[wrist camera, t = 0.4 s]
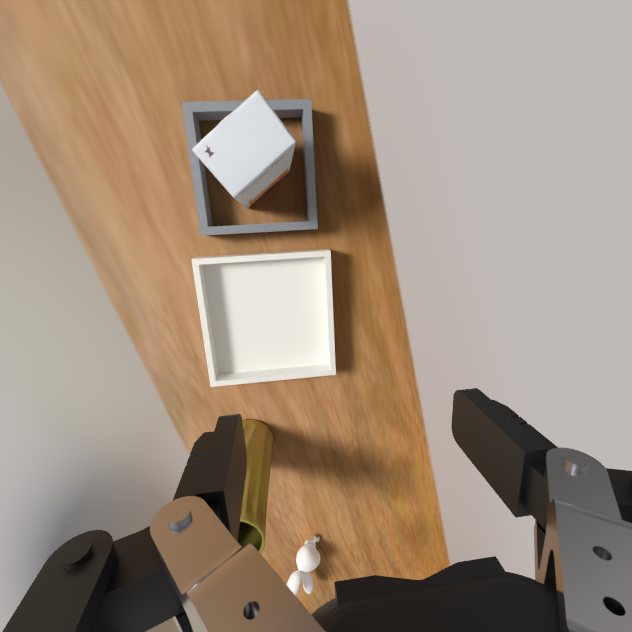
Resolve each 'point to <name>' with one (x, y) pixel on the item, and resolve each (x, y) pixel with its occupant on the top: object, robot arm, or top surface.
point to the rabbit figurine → (305, 566)
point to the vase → (255, 484)
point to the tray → (266, 315)
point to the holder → (192, 117)
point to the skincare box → (248, 150)
